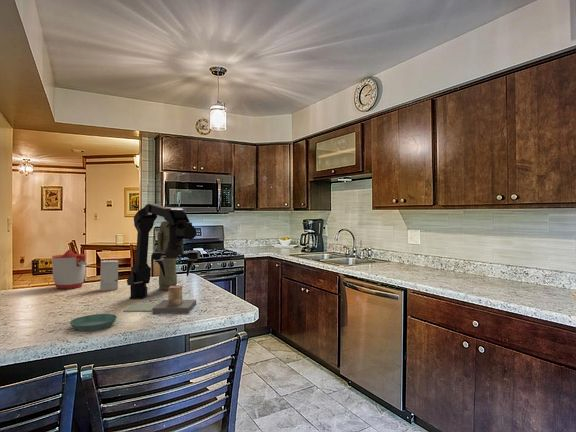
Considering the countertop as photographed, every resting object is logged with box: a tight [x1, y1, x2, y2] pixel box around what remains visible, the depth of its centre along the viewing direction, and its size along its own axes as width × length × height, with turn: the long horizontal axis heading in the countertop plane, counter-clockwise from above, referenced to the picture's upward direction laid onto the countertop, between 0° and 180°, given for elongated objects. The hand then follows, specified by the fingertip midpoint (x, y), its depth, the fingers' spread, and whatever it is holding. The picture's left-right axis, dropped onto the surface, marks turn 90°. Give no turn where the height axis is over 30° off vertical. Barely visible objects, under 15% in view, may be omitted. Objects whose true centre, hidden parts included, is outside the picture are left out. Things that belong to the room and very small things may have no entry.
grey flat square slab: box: [152, 299, 197, 314], centre depth 155 cm, size 14×14×2 cm
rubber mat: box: [123, 303, 158, 313], centre depth 156 cm, size 11×11×1 cm
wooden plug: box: [167, 285, 183, 305], centre depth 155 cm, size 4×4×9 cm
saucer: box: [69, 313, 118, 332], centre depth 132 cm, size 15×15×3 cm
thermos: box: [156, 220, 178, 292], centre depth 195 cm, size 9×12×35 cm
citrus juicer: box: [51, 249, 88, 290], centre depth 200 cm, size 16×17×20 cm
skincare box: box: [99, 259, 119, 292], centre depth 194 cm, size 8×6×15 cm
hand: (176, 276), depth 156 cm, fingers open, 9 cm apart
